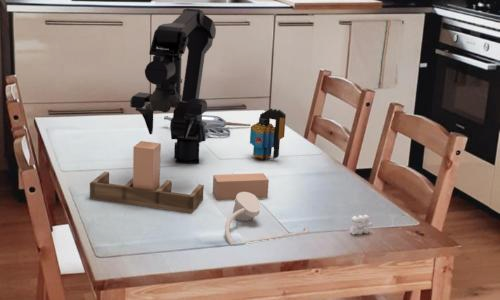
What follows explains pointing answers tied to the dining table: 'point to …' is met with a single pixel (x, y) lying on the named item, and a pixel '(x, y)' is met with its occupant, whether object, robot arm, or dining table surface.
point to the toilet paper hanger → (249, 215)
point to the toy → (267, 134)
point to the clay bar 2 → (240, 185)
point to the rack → (145, 195)
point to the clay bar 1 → (146, 165)
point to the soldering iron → (215, 125)
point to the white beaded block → (360, 224)
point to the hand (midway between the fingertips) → (167, 136)
